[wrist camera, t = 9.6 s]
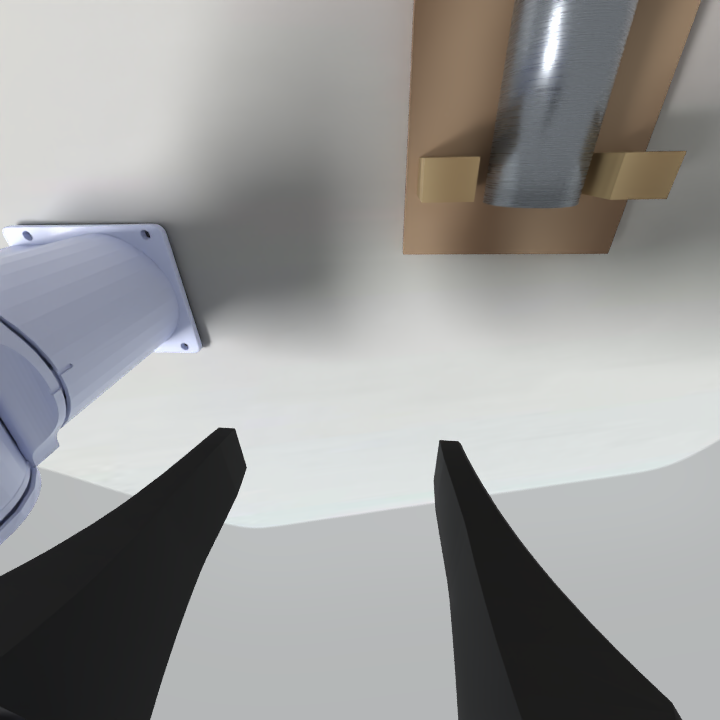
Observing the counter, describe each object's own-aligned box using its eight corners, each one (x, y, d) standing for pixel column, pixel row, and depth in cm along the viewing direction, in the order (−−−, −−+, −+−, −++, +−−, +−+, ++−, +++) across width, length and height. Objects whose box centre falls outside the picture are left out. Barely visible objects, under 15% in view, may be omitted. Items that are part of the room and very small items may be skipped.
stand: (402, 249, 18) (405, 272, 14) (431, -400, 9) (457, -744, 5) (597, 248, 17) (648, 272, 14) (846, -467, 8) (1178, -919, 5)
